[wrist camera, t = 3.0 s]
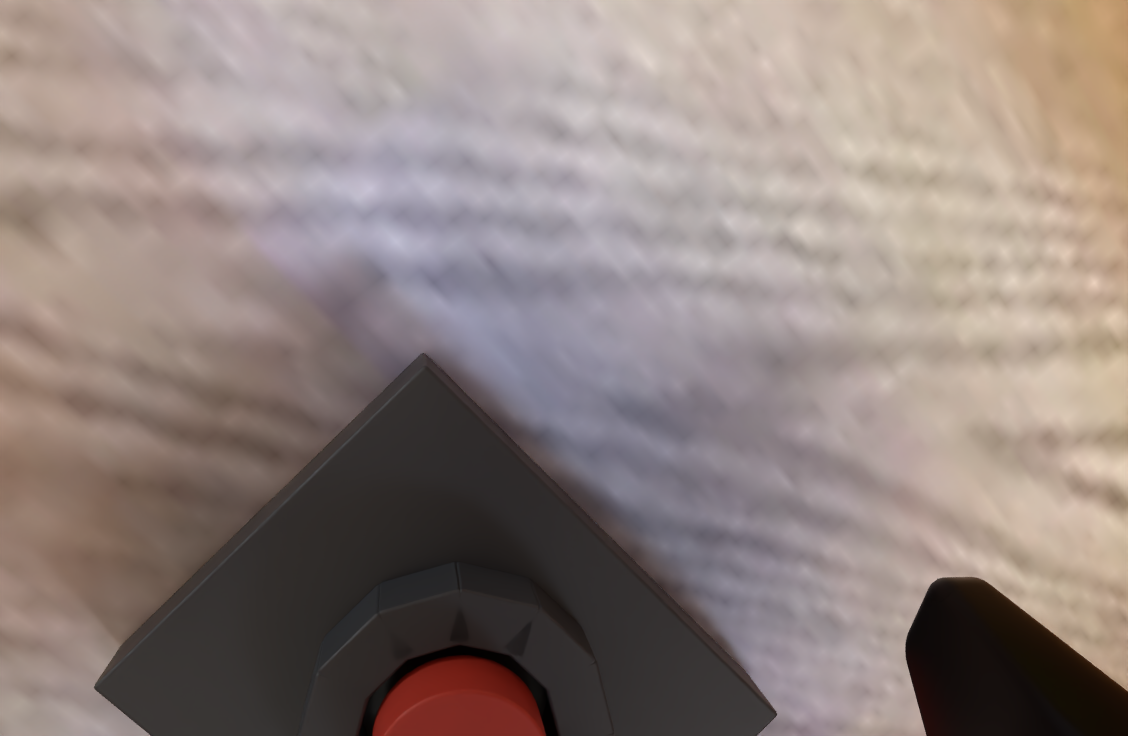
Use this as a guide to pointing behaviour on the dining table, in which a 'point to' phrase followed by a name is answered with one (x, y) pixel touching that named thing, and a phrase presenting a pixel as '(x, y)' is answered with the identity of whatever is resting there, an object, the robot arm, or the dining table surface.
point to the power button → (459, 701)
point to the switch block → (424, 596)
